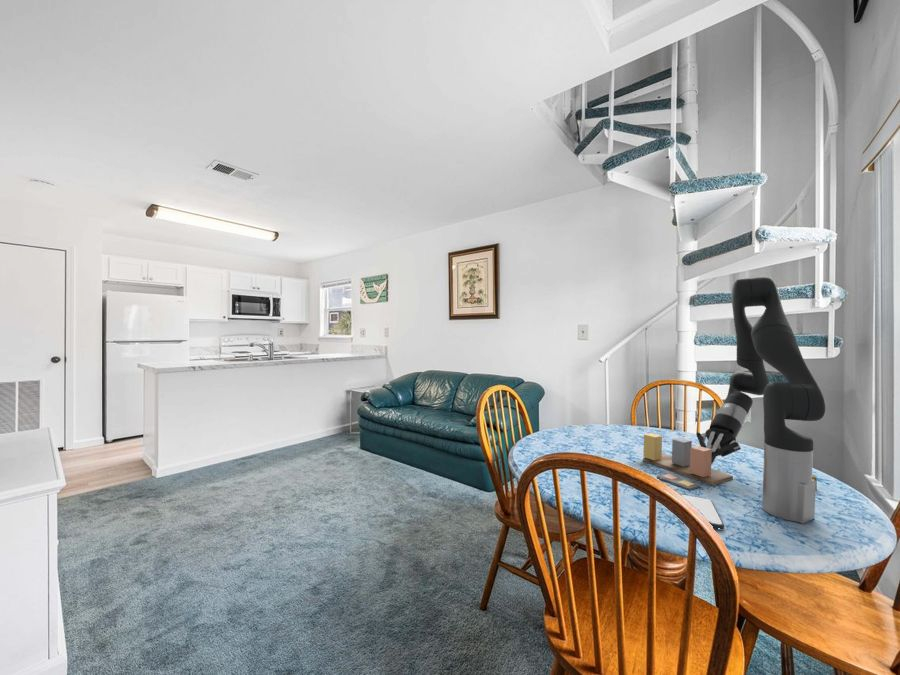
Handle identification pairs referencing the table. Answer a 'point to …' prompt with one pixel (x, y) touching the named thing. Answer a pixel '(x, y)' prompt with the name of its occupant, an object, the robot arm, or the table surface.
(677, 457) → the grey rectangular block
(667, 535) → the table surface
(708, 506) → the phone case
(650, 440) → the yellow tall block
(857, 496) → the table surface
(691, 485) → the card
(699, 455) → the salmon pink block
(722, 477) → the keypad base
